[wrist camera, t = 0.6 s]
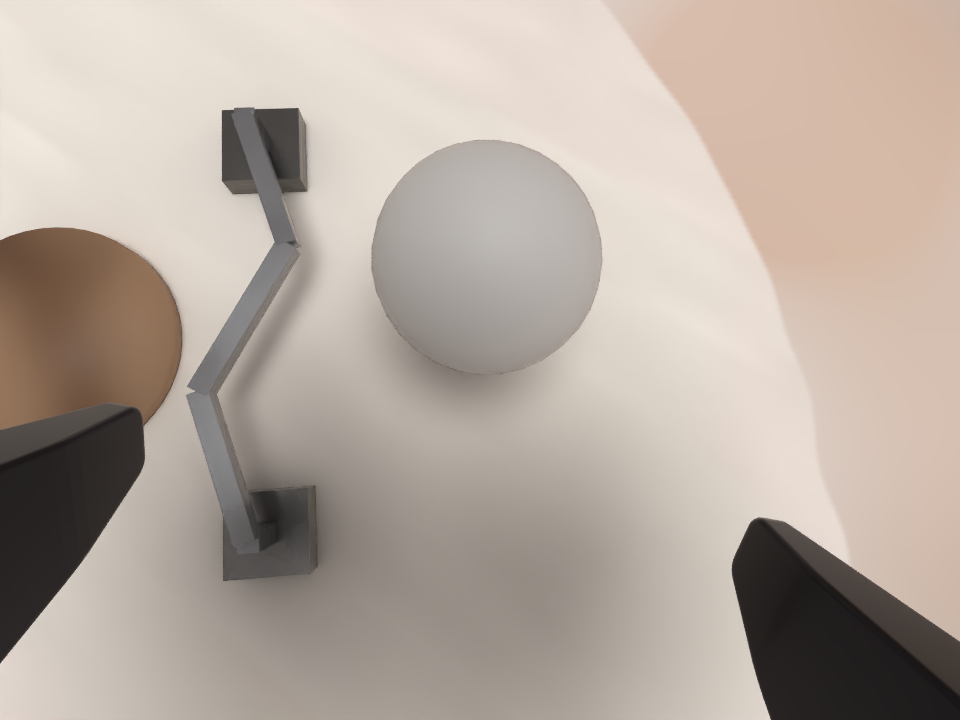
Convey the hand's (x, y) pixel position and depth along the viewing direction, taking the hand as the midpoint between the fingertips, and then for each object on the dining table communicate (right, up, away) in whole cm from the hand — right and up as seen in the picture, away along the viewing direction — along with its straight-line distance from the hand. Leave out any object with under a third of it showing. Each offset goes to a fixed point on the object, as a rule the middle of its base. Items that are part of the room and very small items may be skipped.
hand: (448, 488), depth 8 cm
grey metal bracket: (-8, +3, +14) cm, 17 cm away
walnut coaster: (-16, +2, +14) cm, 21 cm away
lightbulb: (0, +3, +15) cm, 15 cm away
